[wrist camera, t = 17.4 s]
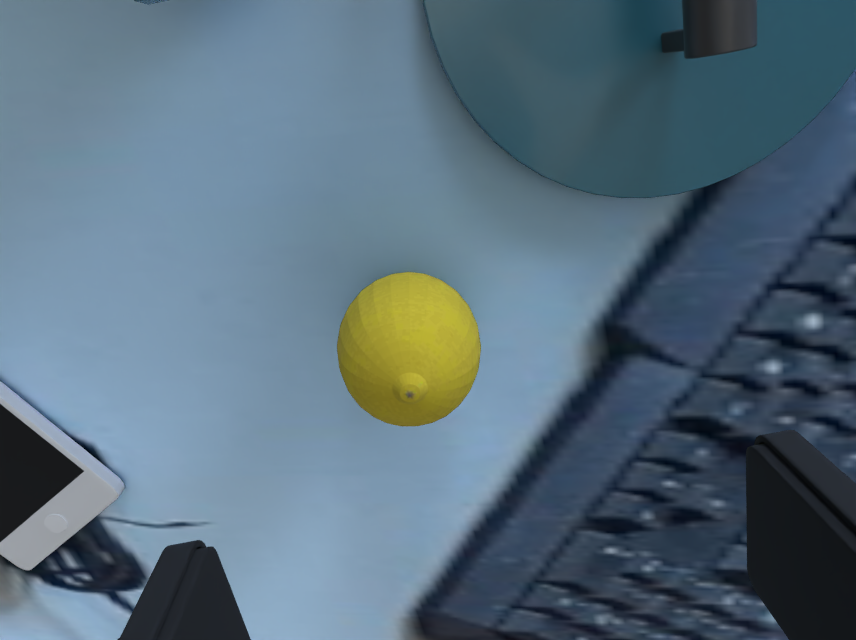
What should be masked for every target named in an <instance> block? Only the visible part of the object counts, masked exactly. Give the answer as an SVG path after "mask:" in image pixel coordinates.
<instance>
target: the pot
mask: <svg viewBox="0 0 856 640" xmlns="http://www.w3.org/2000/svg"><path fill="white" fill-rule="evenodd" d="M135 1H136V2H140V3H144V4H148V5H149V4H154V3H158V2H163V1H168V0H135Z"/></svg>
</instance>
